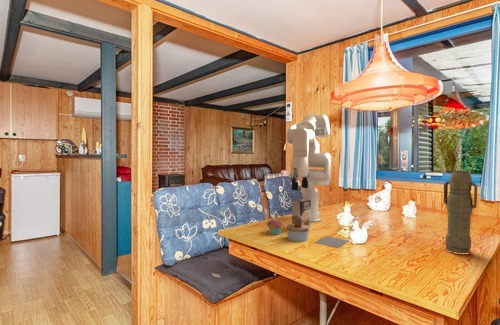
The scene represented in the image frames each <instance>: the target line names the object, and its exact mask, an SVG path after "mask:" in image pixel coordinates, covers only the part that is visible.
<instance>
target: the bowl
mask: <svg viewBox="0 0 500 325" xmlns="http://www.w3.org/2000/svg"><path fill="white" fill-rule="evenodd" d="M287 239H288V240H290V241H291V242H292V241H293V242H306V241H308V240H309V230H308V231H306V232H294V231H290V230H288V229H287Z"/></svg>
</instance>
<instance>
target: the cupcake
mask: <svg viewBox="0 0 500 325" xmlns="http://www.w3.org/2000/svg"><path fill="white" fill-rule="evenodd" d="M266 226H267V228H269V233H270V234H271V235H280V234H281V231H282V229H283V228H284V223H283V222H282V221H281V220H279V219H276V212H273V219H271V220H269V221H268V222H267V223H266Z"/></svg>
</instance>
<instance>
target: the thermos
mask: <svg viewBox="0 0 500 325" xmlns="http://www.w3.org/2000/svg"><path fill="white" fill-rule="evenodd" d="M472 180H473V179H472V175H471V173H470V172H469V171H467V170H466V171H465V170H454V171H452V172H451V173H450V177H449V180H448V181H446V182H445V183H444V184H443V203H444V205H446V211H447V230H446V231H447V232H446V235H445V250H446V249H447V250H449V251H452V252H457V253H469V252H470V253H471V248H472V239H471V219H472V218H471V216H472V213H473V209H476V208H477V204H478V185H477V184H476V183H475V182H473V181H472ZM472 186H473V187H474V191H473V198H472V193H471V192H472ZM448 187H449V188H448Z"/></svg>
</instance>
